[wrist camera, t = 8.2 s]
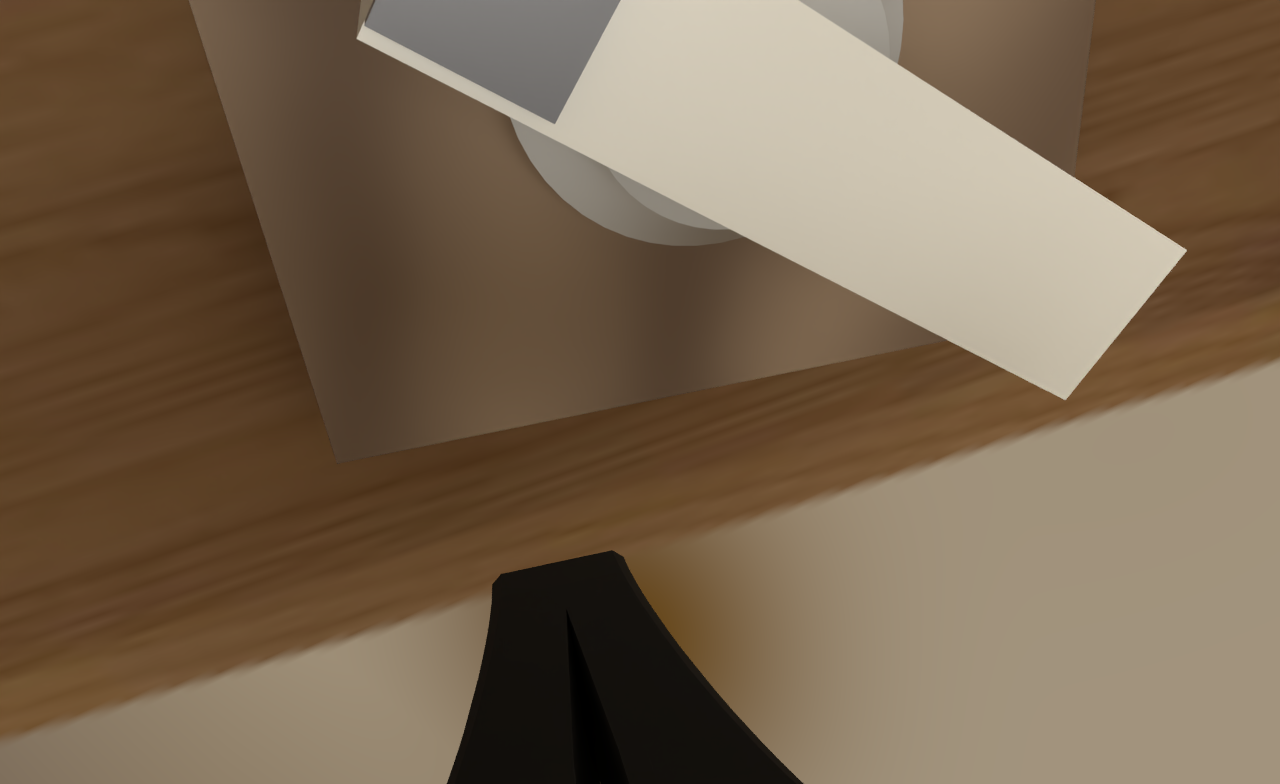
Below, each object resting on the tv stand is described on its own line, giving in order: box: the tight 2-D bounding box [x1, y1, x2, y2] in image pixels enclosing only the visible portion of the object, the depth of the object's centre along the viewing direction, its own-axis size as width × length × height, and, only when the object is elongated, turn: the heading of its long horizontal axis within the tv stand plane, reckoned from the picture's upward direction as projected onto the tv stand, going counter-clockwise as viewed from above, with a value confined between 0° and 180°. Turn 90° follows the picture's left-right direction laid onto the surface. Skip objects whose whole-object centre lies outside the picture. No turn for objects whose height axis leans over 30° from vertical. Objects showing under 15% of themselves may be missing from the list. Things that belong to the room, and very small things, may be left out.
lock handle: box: [356, 0, 1187, 400], centre depth 13 cm, size 10×4×5 cm, turn 60°
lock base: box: [189, 0, 1096, 464], centre depth 17 cm, size 15×14×3 cm
